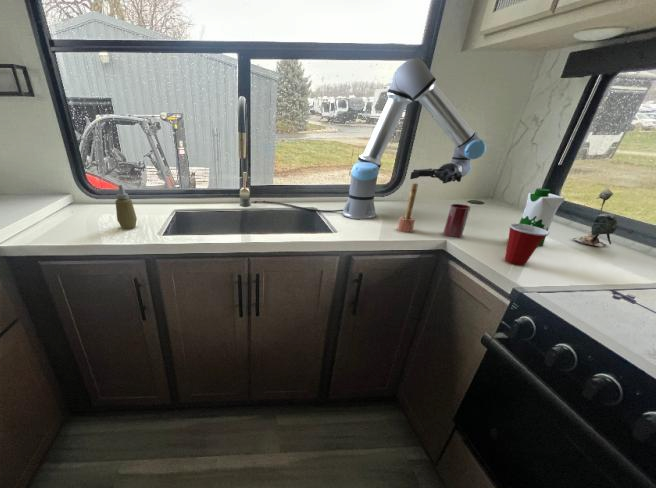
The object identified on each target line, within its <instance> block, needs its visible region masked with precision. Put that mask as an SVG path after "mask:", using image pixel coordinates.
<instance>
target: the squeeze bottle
mask: <svg viewBox="0 0 656 488" xmlns="http://www.w3.org/2000/svg"><path fill="white" fill-rule="evenodd" d="M114 201H115V211H116V220H117V222H118V224H119V226H120V228H121V229H123V230H131V229H134V228H136V227H137V220H138V218H137V215H136V214H137V213H136V211H135V207H134V204H133V201H132V199H131V198H129V194H128V193H127V192H126V191H125V188H124V187H123V185H122V184H119V185H118V193H117V194H116V200H114Z"/></svg>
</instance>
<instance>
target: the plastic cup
mask: <svg viewBox="0 0 656 488" xmlns="http://www.w3.org/2000/svg"><path fill="white" fill-rule="evenodd" d="M508 227H509V232H508V239H507V242H506V248H505V256H504V261H505V262H507V263H508V264H510V265H515V266H524V265H526V263H528V261H529V259H530V258H531V257H532V255H533V254H534V253H535V251H536V250H537V248H538V247H539V246H538V245H539V244H540V242H541V241H542V240H543V239H544V238H545V237H547V236H549V235H550V231H549V230H548V231H546V230H544V229H542V228H538V227H535V226H531V225H525V224H519V223H515V222H514V223H510V224H509V225H508ZM545 239H546V238H545Z"/></svg>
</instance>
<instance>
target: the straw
mask: <svg viewBox="0 0 656 488" xmlns="http://www.w3.org/2000/svg"><path fill="white" fill-rule="evenodd" d="M418 187H419V183H417V182H412V183H411V188H410V191H409V197H408V202H407V206H406V211H405V215H404V216H405V219H410V218H411V217H412V214H413V209H414V204H415V200H416V197H417V192H418Z"/></svg>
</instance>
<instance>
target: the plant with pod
mask: <svg viewBox="0 0 656 488" xmlns="http://www.w3.org/2000/svg"><path fill="white" fill-rule="evenodd" d="M613 195H614V193H613V192H612V191H611V190H610V189H609V188H606V189H604V190H603V191H601V192H600V193H599V194H598V197H596V200H598V199H601V200H602V203H601V208H600V211H599V213H598V214H597V215H596V216H595V218H594V220H593V223H592V226H591V232H590V234H587V235H584V236H579V237H573V240H575V241H577V242H579V243H581V244H586V245H589V246H594V247H598V248H601V247H606V246H607V244H606V243H604V242H602V241H600V238H599V236H600V235H606V239H607V241H608V244H609V245H612V243H613V242H612V241H611V237H610V235H612V234H614V233H615V232H616V230H617V228H618V218H617V215H616V214H614V213H613V214H612V213H602V211H603V207H604V205H605V203H606V201H608V200H609V199H610V198H611V197H612V196H613Z"/></svg>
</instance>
